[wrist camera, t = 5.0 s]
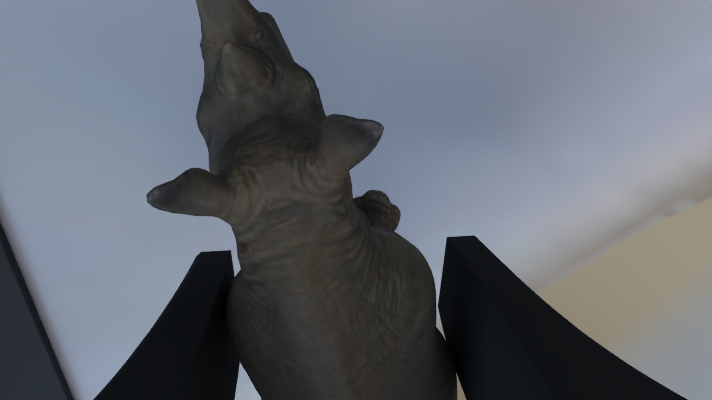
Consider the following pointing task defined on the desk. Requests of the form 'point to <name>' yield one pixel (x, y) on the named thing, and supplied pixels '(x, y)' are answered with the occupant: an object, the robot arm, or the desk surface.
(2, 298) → the back mat
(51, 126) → the desk surface
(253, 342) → the rhino figurine
